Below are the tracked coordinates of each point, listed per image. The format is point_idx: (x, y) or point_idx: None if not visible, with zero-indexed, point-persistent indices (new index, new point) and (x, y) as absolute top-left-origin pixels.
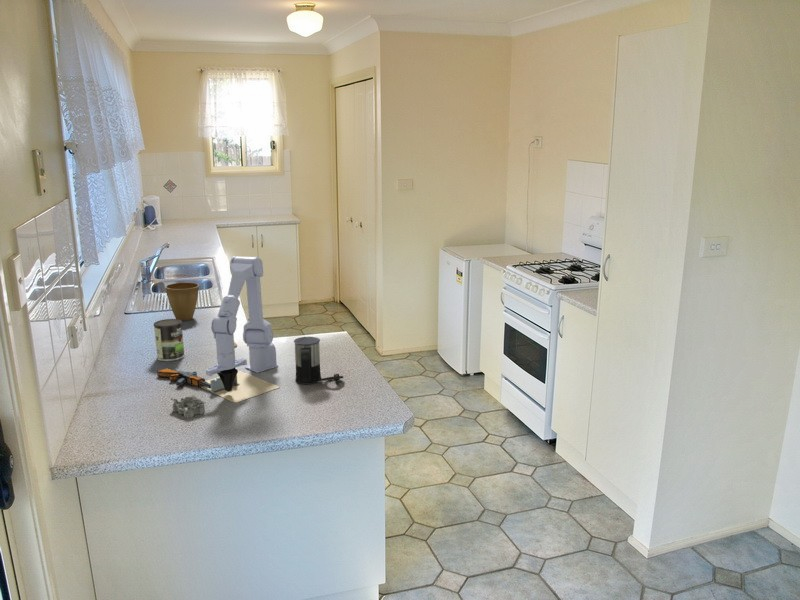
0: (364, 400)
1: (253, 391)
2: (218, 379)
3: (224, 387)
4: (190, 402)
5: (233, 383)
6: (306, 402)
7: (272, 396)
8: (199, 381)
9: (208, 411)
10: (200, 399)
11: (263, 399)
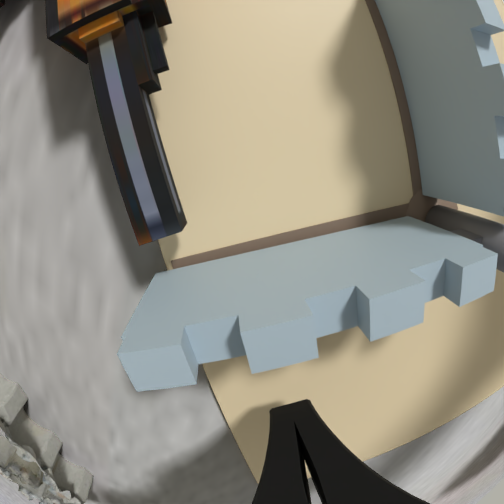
0: (495, 476)
1: (428, 402)
2: (264, 359)
3: (269, 429)
4: (5, 388)
5: (431, 194)
6: (442, 490)
7: (432, 454)
8: (78, 33)
9: (110, 486)
10: (58, 491)
11: (389, 474)
